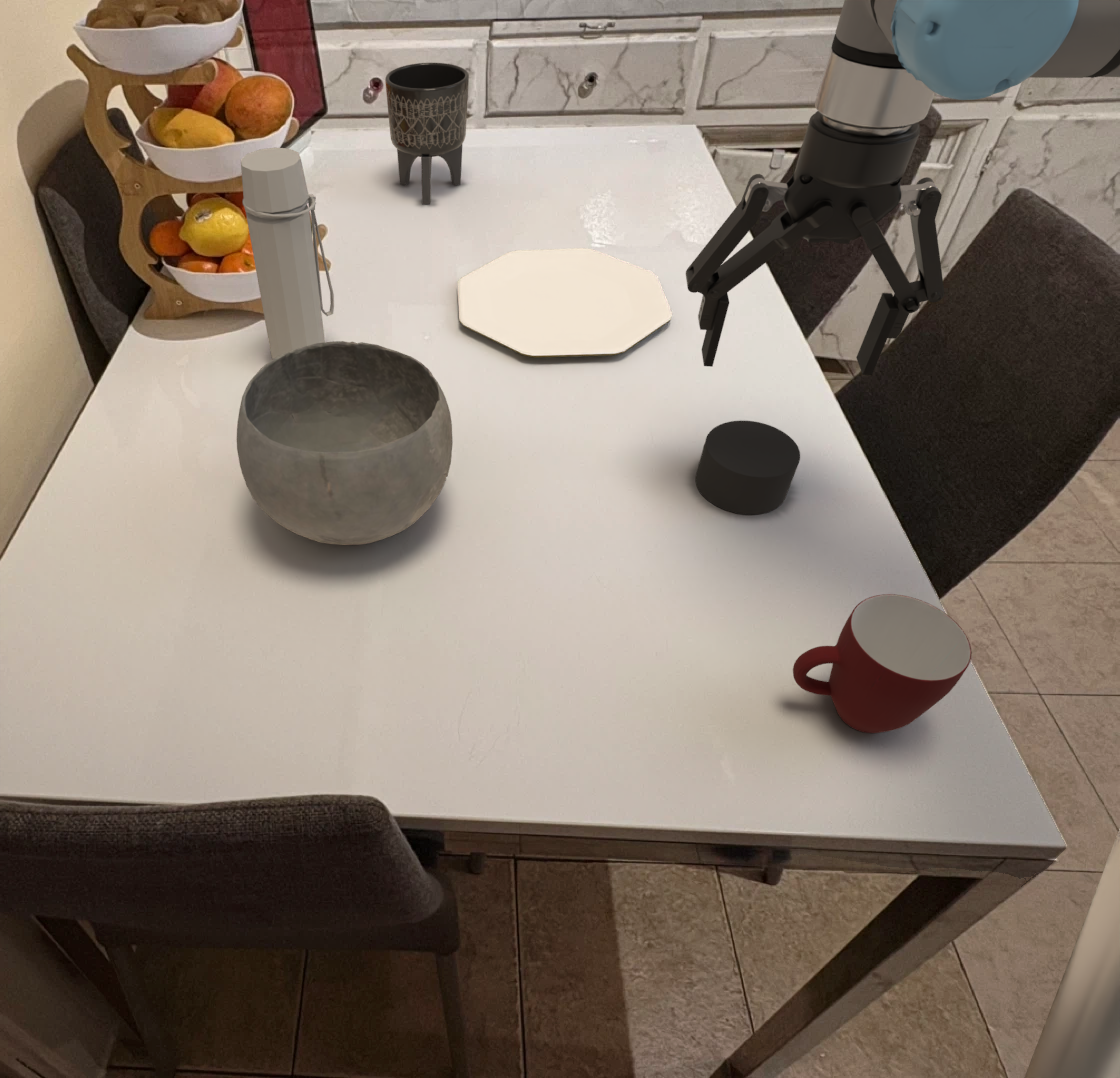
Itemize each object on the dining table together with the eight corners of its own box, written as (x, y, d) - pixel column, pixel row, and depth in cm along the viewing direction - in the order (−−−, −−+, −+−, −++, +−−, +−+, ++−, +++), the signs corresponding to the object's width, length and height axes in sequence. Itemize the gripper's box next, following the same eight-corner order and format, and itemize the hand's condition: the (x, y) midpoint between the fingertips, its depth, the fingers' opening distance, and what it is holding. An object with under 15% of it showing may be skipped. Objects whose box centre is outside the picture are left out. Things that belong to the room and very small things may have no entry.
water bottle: (285, 382, 104) (250, 179, 86) (261, 352, 109) (224, 154, 91) (351, 360, 107) (331, 159, 89) (325, 332, 112) (302, 136, 94)
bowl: (458, 580, 80) (459, 458, 69) (243, 588, 80) (212, 469, 69) (446, 443, 94) (445, 325, 84) (264, 451, 95) (241, 335, 84)
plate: (685, 361, 103) (687, 350, 102) (461, 366, 105) (461, 356, 104) (644, 255, 123) (645, 245, 122) (455, 261, 124) (455, 251, 123)
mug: (795, 757, 65) (837, 683, 58) (765, 672, 71) (800, 594, 64) (934, 756, 65) (993, 681, 58) (893, 670, 70) (942, 592, 63)
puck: (799, 479, 88) (814, 441, 84) (765, 527, 83) (779, 490, 79) (717, 446, 92) (728, 409, 88) (680, 491, 87) (690, 454, 84)
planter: (465, 206, 137) (467, 89, 124) (386, 206, 138) (380, 90, 126) (469, 174, 146) (470, 61, 133) (395, 174, 147) (390, 62, 135)
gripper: (1035, 99, 62) (920, 346, 77) (686, 96, 66) (642, 332, 81) (1074, 139, 57) (943, 395, 72) (693, 133, 61) (645, 378, 76)
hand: (784, 362), depth 77 cm, fingers open, 13 cm apart
